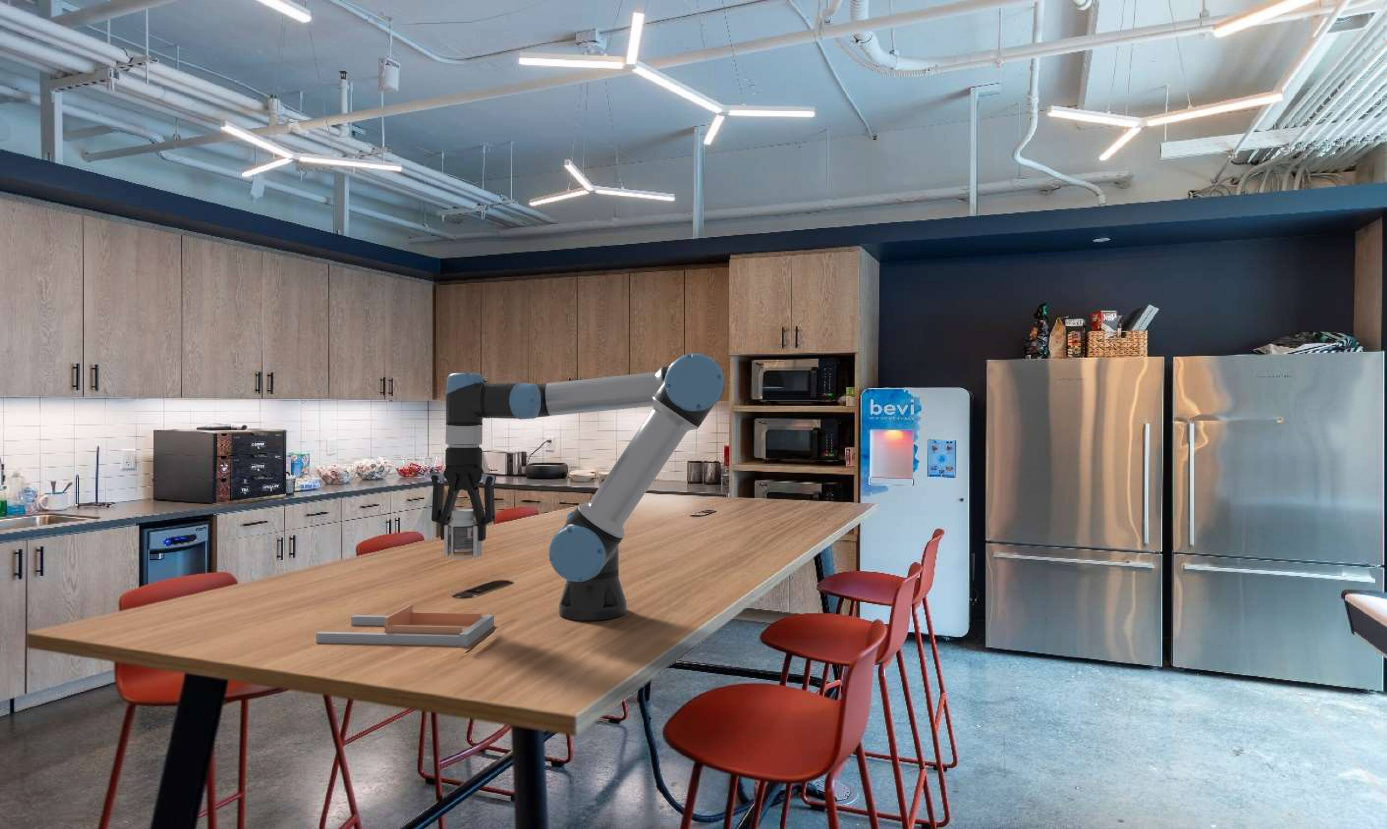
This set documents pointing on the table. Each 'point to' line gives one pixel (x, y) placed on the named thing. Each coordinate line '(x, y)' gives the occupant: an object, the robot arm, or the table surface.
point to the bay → (408, 639)
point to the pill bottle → (461, 534)
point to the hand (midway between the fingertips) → (462, 555)
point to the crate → (429, 622)
